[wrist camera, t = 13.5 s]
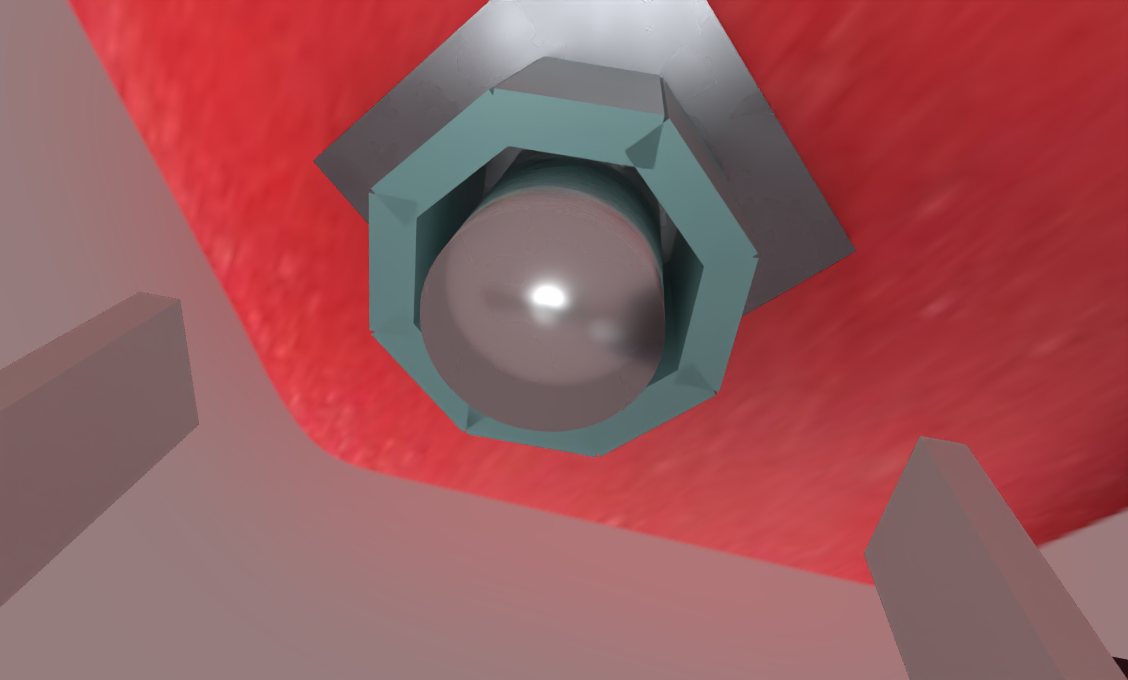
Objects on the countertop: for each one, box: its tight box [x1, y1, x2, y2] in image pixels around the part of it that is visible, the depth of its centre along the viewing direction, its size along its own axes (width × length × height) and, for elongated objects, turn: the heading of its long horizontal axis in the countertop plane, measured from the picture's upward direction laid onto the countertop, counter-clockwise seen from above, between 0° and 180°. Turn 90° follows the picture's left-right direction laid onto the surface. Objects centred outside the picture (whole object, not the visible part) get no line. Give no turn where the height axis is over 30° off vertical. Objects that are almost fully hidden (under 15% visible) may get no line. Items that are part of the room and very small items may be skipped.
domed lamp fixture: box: [313, 0, 856, 432], centre depth 20 cm, size 14×14×11 cm
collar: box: [369, 57, 759, 457], centre depth 20 cm, size 10×10×8 cm
